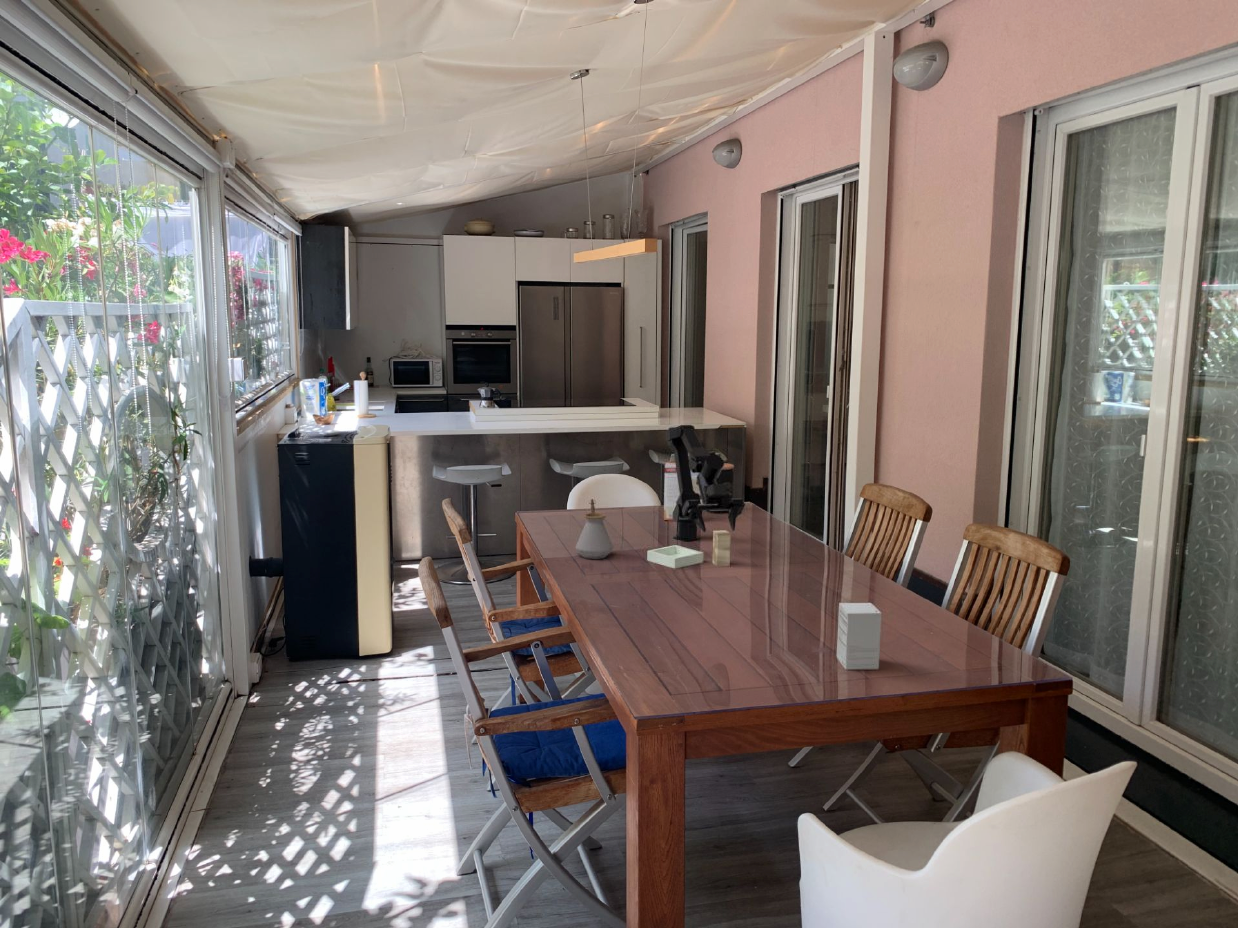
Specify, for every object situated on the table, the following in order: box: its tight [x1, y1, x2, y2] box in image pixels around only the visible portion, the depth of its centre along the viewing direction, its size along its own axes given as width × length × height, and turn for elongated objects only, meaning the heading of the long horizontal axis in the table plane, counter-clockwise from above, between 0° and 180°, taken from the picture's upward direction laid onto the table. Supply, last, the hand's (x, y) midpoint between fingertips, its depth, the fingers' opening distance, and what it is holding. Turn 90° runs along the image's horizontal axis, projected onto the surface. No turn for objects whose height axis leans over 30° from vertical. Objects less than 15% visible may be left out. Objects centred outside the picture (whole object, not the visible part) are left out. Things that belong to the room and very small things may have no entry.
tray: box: [646, 544, 704, 569], centre depth 285 cm, size 12×12×3 cm
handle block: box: [712, 529, 732, 567], centre depth 282 cm, size 4×4×10 cm
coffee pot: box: [575, 499, 614, 560], centre depth 294 cm, size 21×12×15 cm, turn 5°
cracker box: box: [663, 462, 703, 522], centre depth 343 cm, size 14×6×21 cm, turn 84°
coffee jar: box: [705, 462, 735, 515], centre depth 359 cm, size 11×11×18 cm
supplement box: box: [836, 602, 882, 671], centre depth 202 cm, size 7×7×13 cm
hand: (719, 530), depth 283 cm, fingers open, 9 cm apart
